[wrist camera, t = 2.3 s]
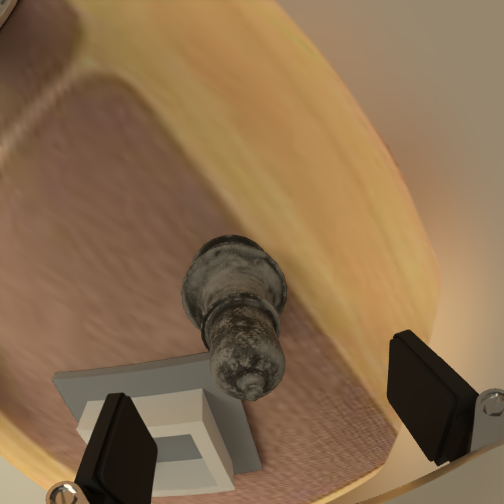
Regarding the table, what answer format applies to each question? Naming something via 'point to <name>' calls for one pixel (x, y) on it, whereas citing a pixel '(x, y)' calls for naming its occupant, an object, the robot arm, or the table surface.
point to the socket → (172, 420)
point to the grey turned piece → (238, 314)
